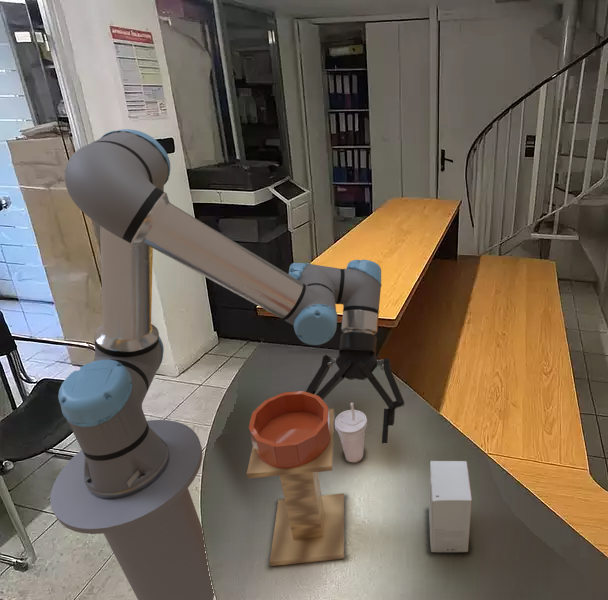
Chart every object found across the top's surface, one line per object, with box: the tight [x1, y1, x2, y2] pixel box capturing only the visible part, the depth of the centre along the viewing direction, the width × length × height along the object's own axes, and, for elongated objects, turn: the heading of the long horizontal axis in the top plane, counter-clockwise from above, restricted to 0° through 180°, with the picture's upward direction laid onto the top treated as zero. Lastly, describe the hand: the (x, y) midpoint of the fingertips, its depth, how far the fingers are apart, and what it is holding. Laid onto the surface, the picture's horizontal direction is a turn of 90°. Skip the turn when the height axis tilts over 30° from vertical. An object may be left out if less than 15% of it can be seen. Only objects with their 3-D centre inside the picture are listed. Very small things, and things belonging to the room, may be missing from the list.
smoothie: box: [334, 402, 368, 463], centre depth 96 cm, size 6×6×14 cm
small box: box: [428, 460, 473, 553], centre depth 81 cm, size 8×6×13 cm
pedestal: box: [246, 408, 345, 567], centre depth 79 cm, size 12×12×22 cm
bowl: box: [248, 390, 331, 468], centre depth 73 cm, size 11×11×4 cm
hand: (350, 441), depth 94 cm, fingers open, 13 cm apart
